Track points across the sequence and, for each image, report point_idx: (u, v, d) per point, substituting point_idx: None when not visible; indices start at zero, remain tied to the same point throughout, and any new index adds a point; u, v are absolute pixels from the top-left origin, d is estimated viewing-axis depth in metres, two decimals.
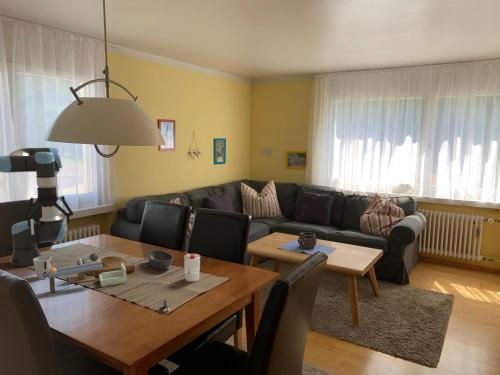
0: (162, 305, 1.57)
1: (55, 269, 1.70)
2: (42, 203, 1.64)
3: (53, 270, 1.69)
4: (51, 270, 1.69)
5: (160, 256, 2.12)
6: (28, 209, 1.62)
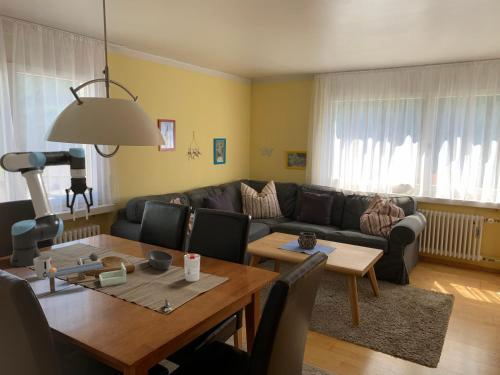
0: (164, 305, 1.58)
1: (55, 269, 1.70)
2: (76, 191, 1.95)
3: (53, 270, 1.69)
4: (51, 270, 1.69)
5: (160, 256, 2.12)
6: (67, 198, 1.94)
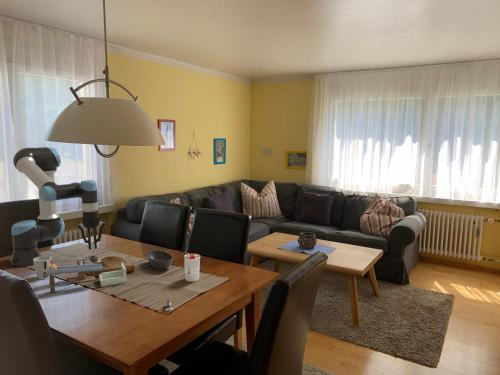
0: (166, 304, 1.58)
1: (56, 266, 1.70)
2: (88, 226, 1.87)
3: (54, 267, 1.69)
4: (52, 267, 1.69)
5: (160, 256, 2.12)
6: (83, 234, 1.87)
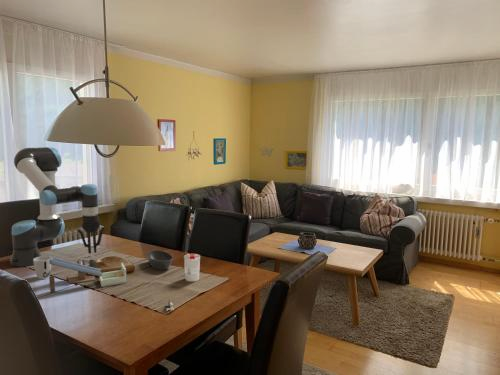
0: (167, 304, 1.58)
1: None
2: (88, 230, 1.87)
3: None
4: None
5: (160, 256, 2.12)
6: (83, 238, 1.87)
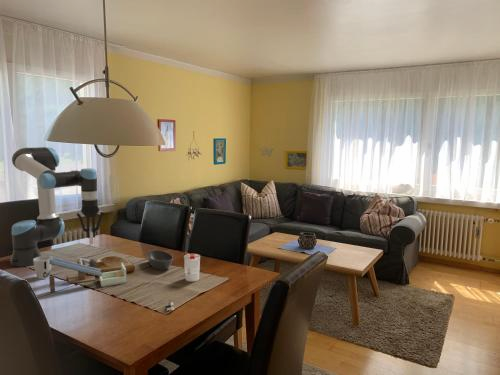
0: (168, 304, 1.59)
1: None
2: (87, 214, 1.86)
3: None
4: None
5: (160, 256, 2.12)
6: (82, 222, 1.86)
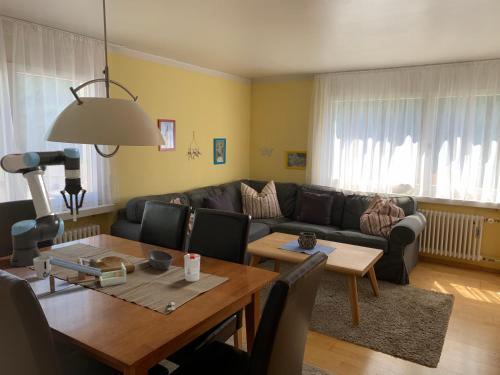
0: (169, 303, 1.59)
1: None
2: (71, 192, 1.94)
3: None
4: None
5: (160, 256, 2.12)
6: (65, 200, 1.94)
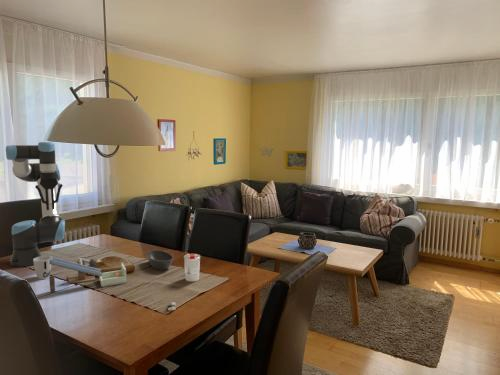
0: (170, 303, 1.59)
1: None
2: (46, 186, 1.91)
3: None
4: None
5: (160, 256, 2.12)
6: (40, 194, 1.91)
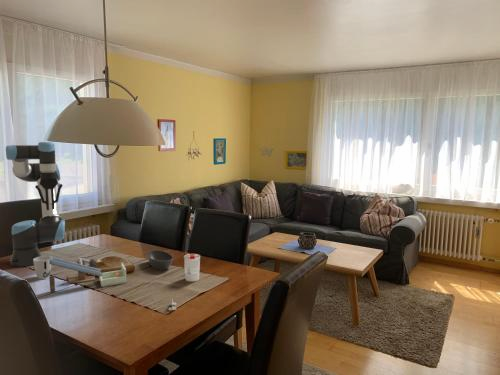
0: (170, 303, 1.59)
1: None
2: (46, 186, 1.91)
3: None
4: (119, 276, 1.84)
5: (160, 256, 2.12)
6: (40, 194, 1.91)
